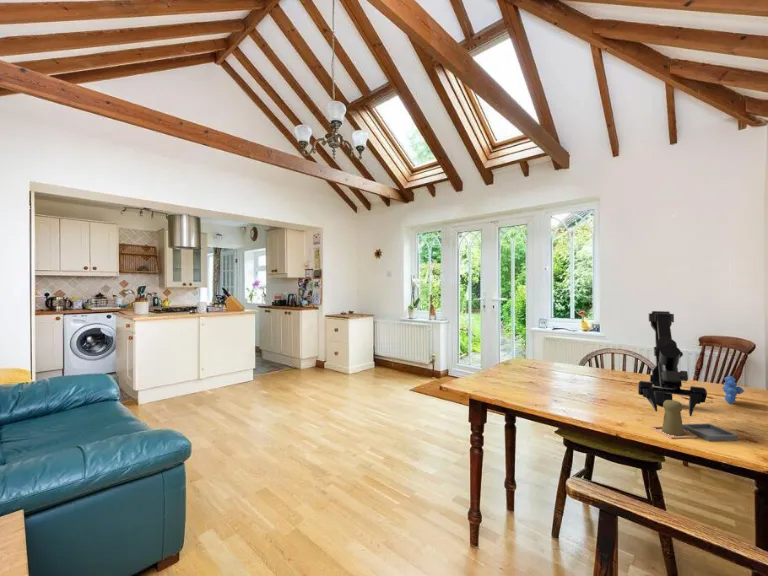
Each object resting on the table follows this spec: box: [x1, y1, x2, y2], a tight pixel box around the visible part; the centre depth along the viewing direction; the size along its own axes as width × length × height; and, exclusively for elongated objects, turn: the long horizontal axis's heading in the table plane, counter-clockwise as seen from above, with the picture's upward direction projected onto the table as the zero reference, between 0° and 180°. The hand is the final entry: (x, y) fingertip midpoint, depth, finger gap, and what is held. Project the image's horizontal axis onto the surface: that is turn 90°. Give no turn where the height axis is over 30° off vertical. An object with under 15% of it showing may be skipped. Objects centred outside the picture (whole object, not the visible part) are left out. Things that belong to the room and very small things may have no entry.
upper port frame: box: [649, 425, 698, 439], centre depth 124 cm, size 9×9×1 cm
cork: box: [661, 400, 685, 436], centre depth 124 cm, size 6×6×11 cm
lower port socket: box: [682, 422, 740, 442], centre depth 123 cm, size 10×10×2 cm
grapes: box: [721, 375, 745, 404], centre depth 152 cm, size 12×7×12 cm, turn 142°
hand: (673, 413), depth 123 cm, fingers open, 9 cm apart
